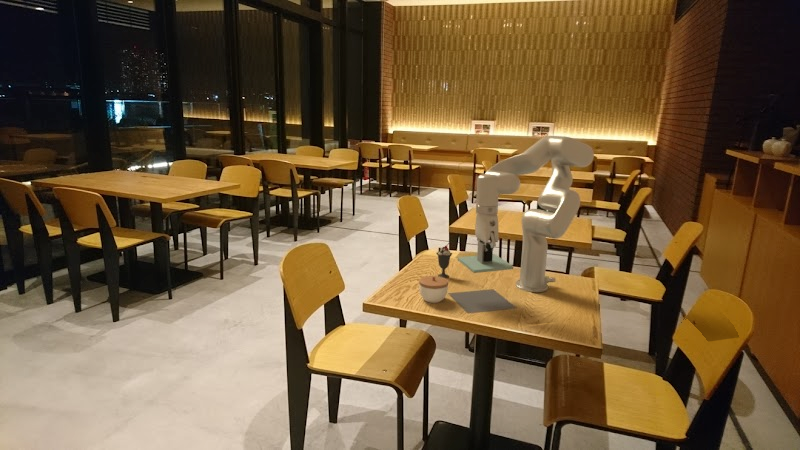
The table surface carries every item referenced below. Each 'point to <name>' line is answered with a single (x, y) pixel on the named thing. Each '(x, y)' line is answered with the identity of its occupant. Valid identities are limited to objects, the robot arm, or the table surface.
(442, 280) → the lidded jar
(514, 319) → the table surface
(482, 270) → the lid
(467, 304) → the mat
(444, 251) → the sundae
